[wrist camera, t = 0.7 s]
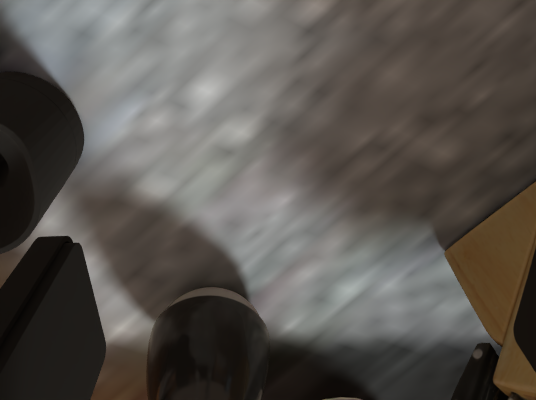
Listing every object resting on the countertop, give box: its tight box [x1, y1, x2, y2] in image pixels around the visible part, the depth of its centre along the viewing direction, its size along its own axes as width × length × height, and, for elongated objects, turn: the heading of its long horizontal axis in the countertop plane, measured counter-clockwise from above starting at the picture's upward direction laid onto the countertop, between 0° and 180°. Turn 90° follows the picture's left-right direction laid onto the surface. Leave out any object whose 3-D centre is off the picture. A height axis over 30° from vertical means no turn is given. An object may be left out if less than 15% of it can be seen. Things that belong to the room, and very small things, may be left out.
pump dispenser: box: [146, 287, 270, 400], centre depth 38 cm, size 10×10×15 cm
